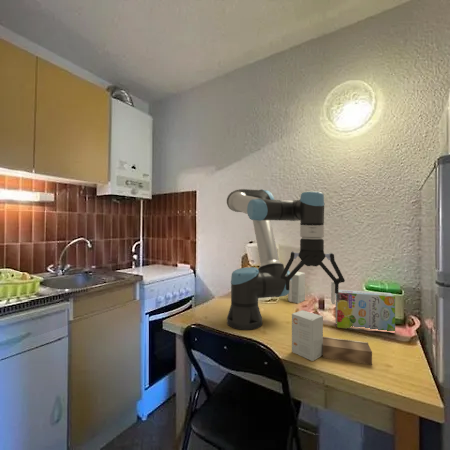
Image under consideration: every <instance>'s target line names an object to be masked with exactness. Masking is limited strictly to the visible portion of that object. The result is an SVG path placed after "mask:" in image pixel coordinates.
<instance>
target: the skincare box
mask: <svg viewBox="0 0 450 450" xmlns="http://www.w3.org/2000/svg"><path fill="white" fill-rule="evenodd" d="M287 297H288V298H287V299H288V302H290V303H294V304H300V303H302V302H304V301H305V300H306V272H303V271H298V272H297V273H296V274H295V275H294V276H293V277H292V301H289V293H288V294H287Z"/></svg>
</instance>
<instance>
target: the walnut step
mask: <svg viewBox="0 0 450 450" xmlns="http://www.w3.org/2000/svg"><path fill="white" fill-rule="evenodd" d="M322 357H323V358H324V359H325V358H326V359H331V360H337V361H342V362H343V361H344V362H350V363H356V364H364V365H368V366H369V365H370V366H371V365H373V351H372V348H371V347H370V345H369V342H367V341H359V340H353V339H352V340H351V339H343V338H337V337H329V336H323V355H322Z"/></svg>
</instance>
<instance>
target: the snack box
mask: <svg viewBox="0 0 450 450" xmlns="http://www.w3.org/2000/svg"><path fill="white" fill-rule="evenodd" d="M336 323H337V325H336V328H338V329H347V328H350V327H351V326H352V327H353V326H354V327H365V328H370V329H378V330H387V331H395V332H396V296H395V295H394V294H393V293H391V292H383V291H382V292H381V291H380V292H379V291H365V290H351V289H350V290H349V289H338V294H337V293H335V324H336ZM347 330H348V329H347Z"/></svg>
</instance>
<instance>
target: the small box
mask: <svg viewBox="0 0 450 450" xmlns="http://www.w3.org/2000/svg"><path fill="white" fill-rule="evenodd" d="M323 326H324V316H323V315H320V314H317V313H313V312H309V311H307V310H303V309H301V310H299V311H296V312H293V313H291V352H292V353H293V354H296V355H298V356H300V357H302V358H304V359H307V360H309V361H311V362H314V361H315V360H317V359H319V358H321V356H322V357H323V337H324V327H323Z"/></svg>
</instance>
